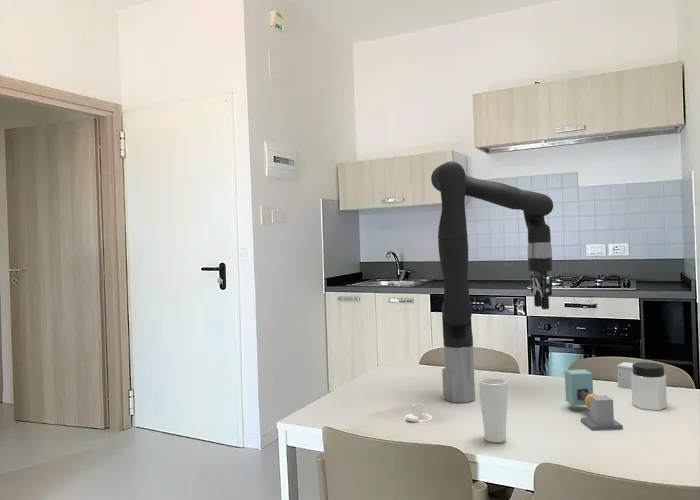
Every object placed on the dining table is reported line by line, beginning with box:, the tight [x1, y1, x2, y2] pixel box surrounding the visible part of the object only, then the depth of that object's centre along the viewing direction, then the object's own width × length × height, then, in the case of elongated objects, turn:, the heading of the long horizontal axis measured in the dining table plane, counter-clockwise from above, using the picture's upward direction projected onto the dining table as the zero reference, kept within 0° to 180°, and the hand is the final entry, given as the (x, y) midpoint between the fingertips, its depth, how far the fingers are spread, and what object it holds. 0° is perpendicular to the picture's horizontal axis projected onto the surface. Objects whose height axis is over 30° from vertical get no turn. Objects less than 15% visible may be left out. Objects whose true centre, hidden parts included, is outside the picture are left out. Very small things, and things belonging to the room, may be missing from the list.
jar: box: [631, 361, 668, 411], centre depth 162 cm, size 9×8×12 cm
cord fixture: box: [577, 389, 624, 431], centre depth 155 cm, size 23×8×8 cm, turn 0°
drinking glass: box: [479, 377, 508, 444], centre depth 140 cm, size 7×7×15 cm
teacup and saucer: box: [403, 403, 433, 423], centre depth 160 cm, size 9×8×4 cm
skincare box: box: [616, 361, 635, 390], centre depth 183 cm, size 6×6×7 cm
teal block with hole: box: [564, 369, 594, 406], centre depth 161 cm, size 5×6×9 cm
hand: (541, 307), depth 180 cm, fingers open, 6 cm apart
